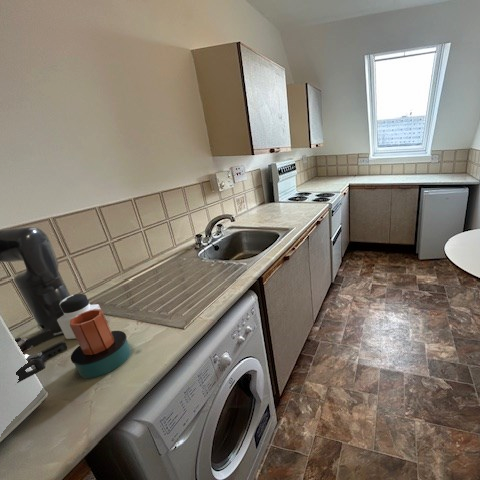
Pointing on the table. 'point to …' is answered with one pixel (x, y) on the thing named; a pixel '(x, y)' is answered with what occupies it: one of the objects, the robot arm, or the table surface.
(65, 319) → the medicine bottle
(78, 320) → the terracotta cup
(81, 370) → the teal tin
